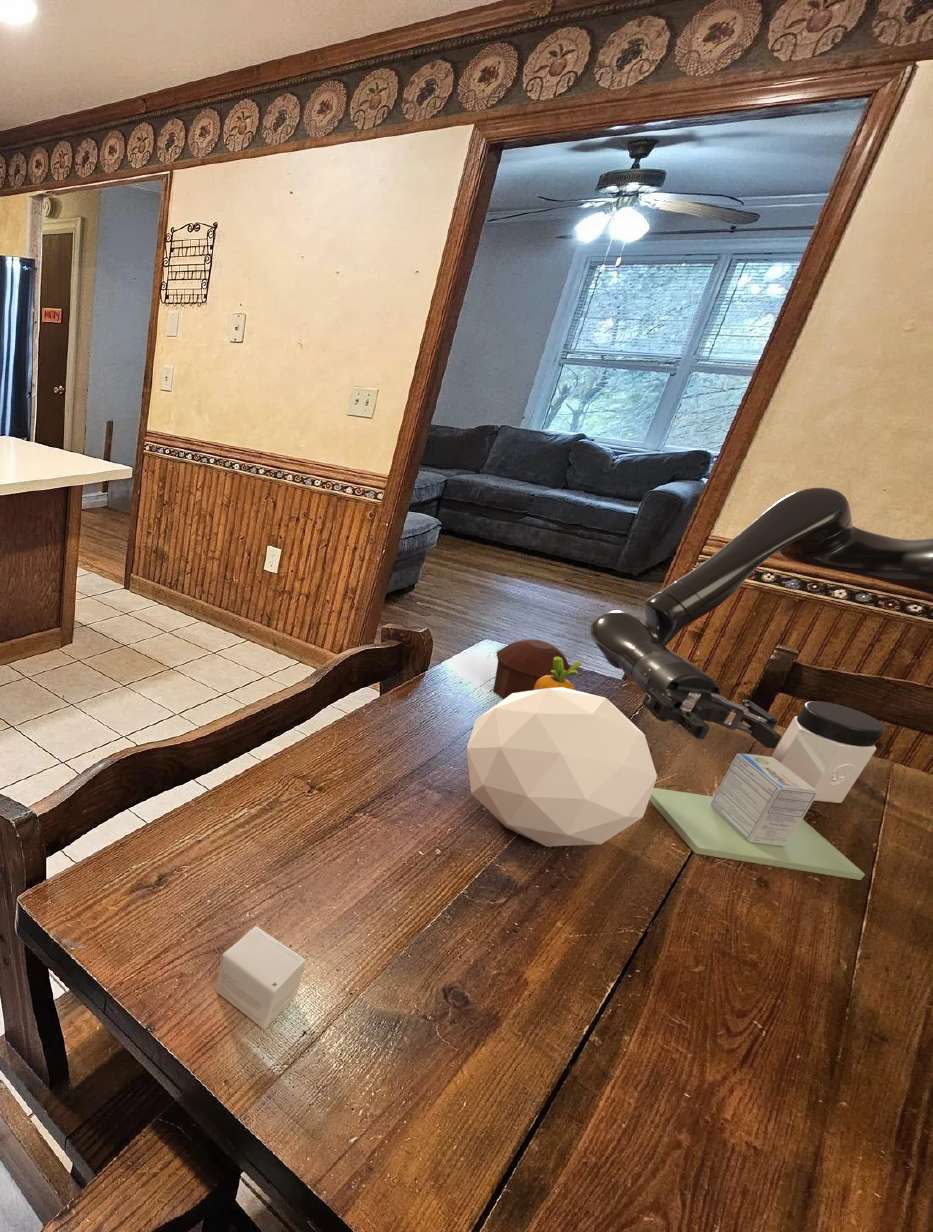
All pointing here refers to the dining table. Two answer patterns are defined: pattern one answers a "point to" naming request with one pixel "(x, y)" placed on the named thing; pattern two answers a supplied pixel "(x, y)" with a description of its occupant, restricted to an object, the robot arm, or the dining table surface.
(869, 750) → the jar
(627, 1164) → the dining table surface
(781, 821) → the medicine box
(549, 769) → the ball
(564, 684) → the carrot
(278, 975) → the small box
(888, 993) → the dining table surface
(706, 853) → the mat
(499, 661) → the muffin
